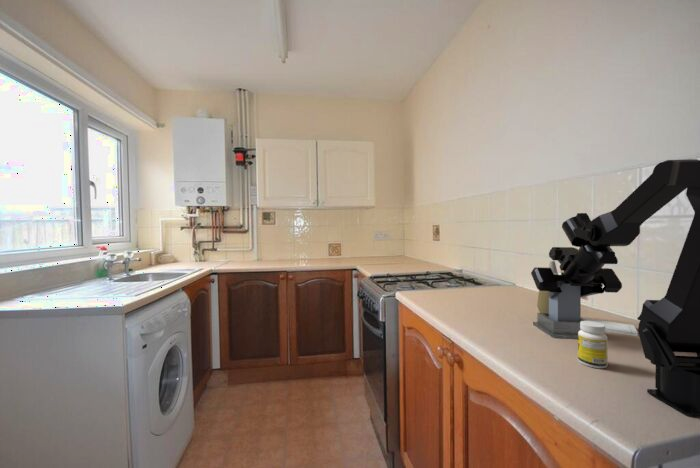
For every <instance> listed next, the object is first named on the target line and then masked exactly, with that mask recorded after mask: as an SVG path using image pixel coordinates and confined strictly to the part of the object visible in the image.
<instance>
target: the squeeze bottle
mask: <svg viewBox="0 0 700 468" xmlns="http://www.w3.org/2000/svg"><path fill="white" fill-rule="evenodd" d="M548 268H551V269H552V272H553V273H554V275H558V273H559V272H558V269H557V264H556V260H550V262H549V265H548ZM536 305H537V309H538V313H549V291H540V290H538V296H537V304H536Z"/></svg>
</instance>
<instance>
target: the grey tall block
mask: <svg viewBox="0 0 700 468" xmlns="http://www.w3.org/2000/svg"><path fill="white" fill-rule="evenodd" d="M561 273H562V272H558V275H561ZM560 288H561V290H562V293H560V294H558V295H557V296H555V297H553V298H550V297H549V317H550V318H552V319H553V320H555V321H575V322H581V317H582V315H581V313H582V312H581V309H582V308H581V306H582V304H581V301H582V299H581V298H582V297H581V286H571V285H570V284H562V286H561V287H560Z"/></svg>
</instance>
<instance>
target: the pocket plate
mask: <svg viewBox="0 0 700 468" xmlns="http://www.w3.org/2000/svg"><path fill="white" fill-rule="evenodd" d="M584 318H585V317H582V318H581V321H588V320H586V319H584ZM536 320H537V321H532V325H533V326H535V327H536V328H538V330H540V331H542V332H543V333H544V334H546V335H548V336H549V337H551V338H554V339H577V340H578V332H579V331H580V330H581V329H580V322H575V321H555V320H553V319H552V318H550V317H549V313H540V312H537V319H536Z"/></svg>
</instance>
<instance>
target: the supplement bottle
mask: <svg viewBox="0 0 700 468" xmlns="http://www.w3.org/2000/svg"><path fill="white" fill-rule="evenodd" d="M580 329H581V330H580V331H579V332H578V339H577V358H578V359H577V361H578V362H579V363H580V364H581V365H584V366H587V367H590V368H592V369H593V368H595V369H606V368H607V367H608V338H609V337H608V336H607V335H606V331H605V325H603V324H601V323H598V322H593V321H581V322H580Z"/></svg>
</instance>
